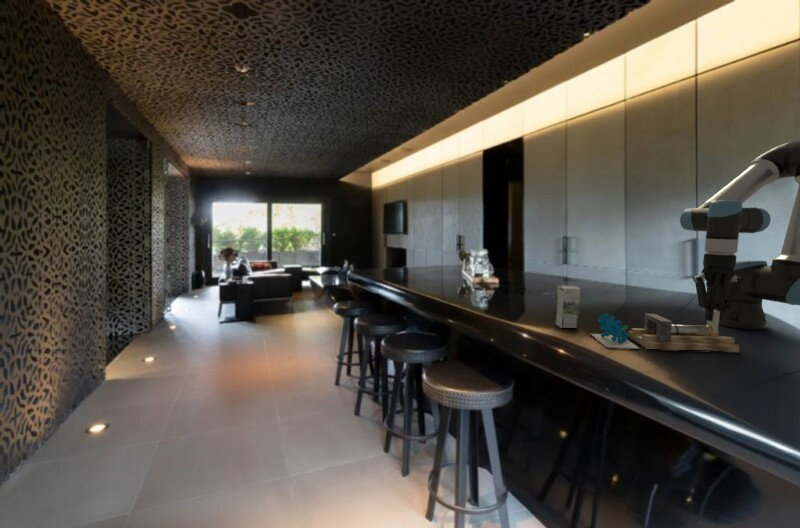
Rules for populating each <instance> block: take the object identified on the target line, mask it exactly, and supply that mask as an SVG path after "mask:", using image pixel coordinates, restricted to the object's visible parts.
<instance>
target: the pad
mask: <svg viewBox="0 0 800 528" xmlns="http://www.w3.org/2000/svg"><path fill="white" fill-rule="evenodd" d="M590 334H591V335H592V336H594V337H595V338H596V339H597V340H599V341H600V342H601V343H602V344H603V345H605V346H606V347H608V348H627V349H626V350H630V349H639V350H640V347H639V346H637V345H636V344H635V343H632V342H631V341H630V340H629V339H628V340H626V341H623V342H622V343H619V342H618V341H617V340H618V337H616V338H617V340H616V341H615V342H614V341H613V340H611V338H612V337H613V335H609V336H608V337H607V336H604V337H601V334H602V333H590ZM621 338H622V337H621ZM602 344H601V345H602ZM603 345H602V346H603Z"/></svg>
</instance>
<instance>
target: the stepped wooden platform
mask: <svg viewBox="0 0 800 528" xmlns="http://www.w3.org/2000/svg"><path fill="white" fill-rule="evenodd" d="M643 322H644V324H643V328H640V327H639V328H635V327H632V328H631V329H630V330H628V331H627V333H628V336H627V338H628V337H630V338H631V339H630V338H629V339H630V340H632V339H633V340H635V341H636V342H638V343H639V344H641V345H642V346H641V345H640V346H641V347H643V346H644V347H645V348H644V347H643V348H644V349H645V350H647V349H661V350H660V351H678V350H714V351H723V352H722V353H740V347H741V346H740V345H739V344H738V343H737V344H736V343H735V342H736V341H735V340H736V337H732V336H720V331H718V333H713V335H712V336H682V335H671V329H672V325H673V321H672V320H669V319H667V318H666V317H663V316H661V315H659V314H656V313H644V321H643ZM656 324H657V332H656V335H655V333H654V326H655V325H656ZM633 340H632V341H633ZM635 341H634V342H635ZM636 342H635V343H636ZM638 343H637V344H638ZM639 344H638V345H639Z"/></svg>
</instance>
